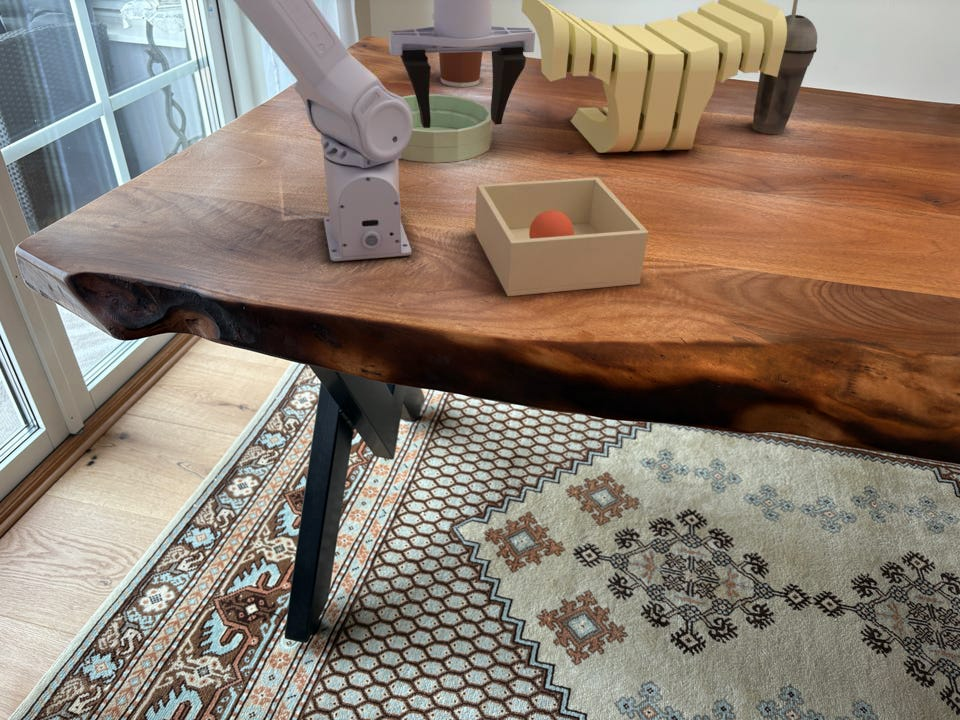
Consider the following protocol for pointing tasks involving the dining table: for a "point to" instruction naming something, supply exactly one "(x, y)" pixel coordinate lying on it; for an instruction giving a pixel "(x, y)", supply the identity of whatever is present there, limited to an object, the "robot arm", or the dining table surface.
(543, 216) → the toy ball
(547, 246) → the bin
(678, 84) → the slatted curved stool
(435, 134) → the bowl
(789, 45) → the beverage cup
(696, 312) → the dining table surface
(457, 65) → the coffee cup
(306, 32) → the robot arm
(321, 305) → the dining table surface
